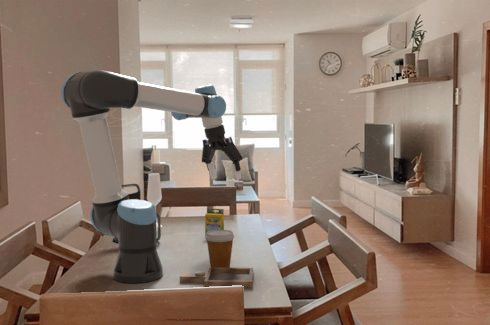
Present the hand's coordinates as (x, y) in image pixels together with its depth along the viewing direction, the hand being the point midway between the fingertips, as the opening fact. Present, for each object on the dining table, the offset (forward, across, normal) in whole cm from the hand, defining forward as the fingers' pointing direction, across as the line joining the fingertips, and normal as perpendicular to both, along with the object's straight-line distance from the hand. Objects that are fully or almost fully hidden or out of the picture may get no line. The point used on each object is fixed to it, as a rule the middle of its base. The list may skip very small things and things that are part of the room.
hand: (226, 179), depth 203 cm
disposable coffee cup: (+21, -20, +30) cm, 42 cm away
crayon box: (+25, +14, +1) cm, 29 cm away
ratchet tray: (+19, -28, +40) cm, 52 cm away
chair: (+18, +32, +27) cm, 45 cm away
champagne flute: (+22, +48, +5) cm, 53 cm away
